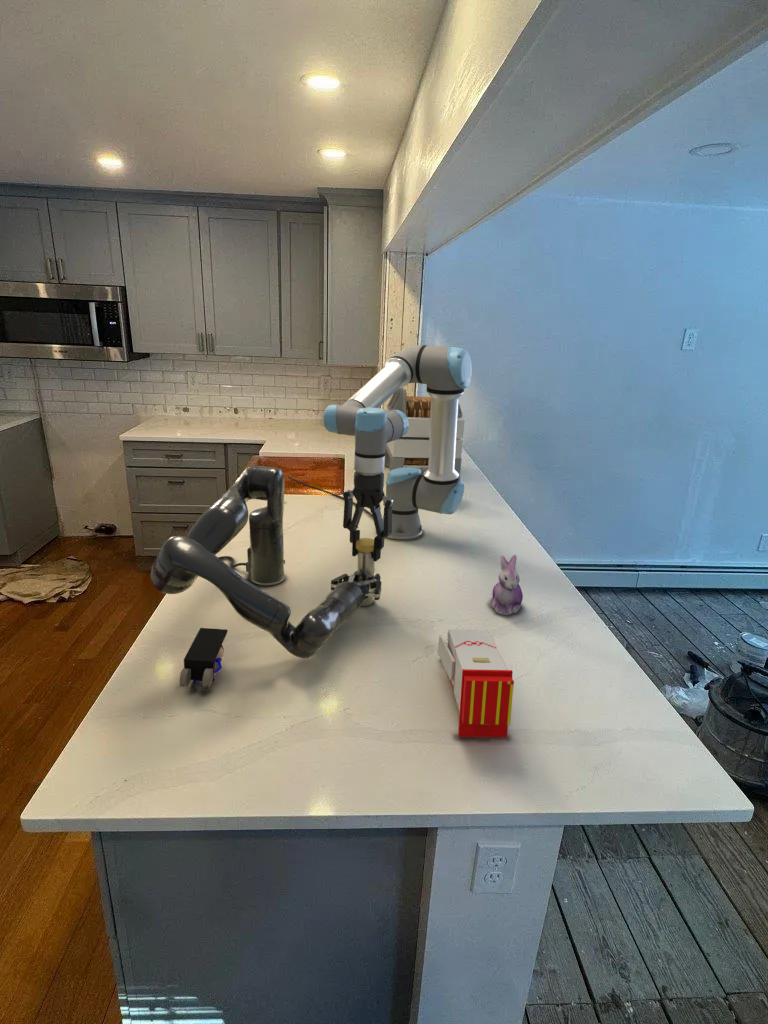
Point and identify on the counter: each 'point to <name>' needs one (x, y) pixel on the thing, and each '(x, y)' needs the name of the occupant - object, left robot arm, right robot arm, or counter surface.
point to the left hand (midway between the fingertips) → (369, 575)
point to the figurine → (507, 588)
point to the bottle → (365, 571)
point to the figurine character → (203, 658)
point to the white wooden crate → (416, 433)
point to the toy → (478, 682)
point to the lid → (365, 544)
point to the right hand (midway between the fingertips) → (366, 556)
